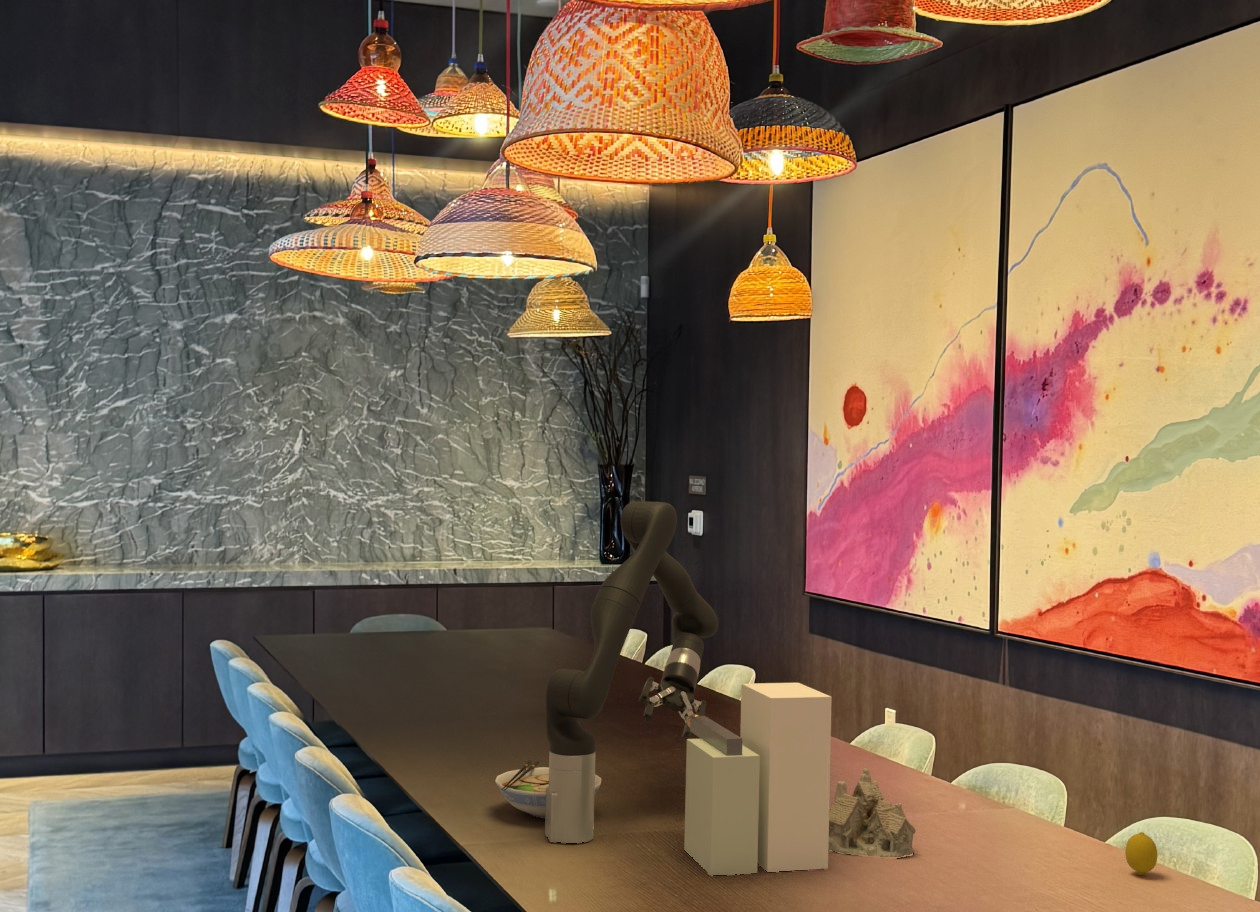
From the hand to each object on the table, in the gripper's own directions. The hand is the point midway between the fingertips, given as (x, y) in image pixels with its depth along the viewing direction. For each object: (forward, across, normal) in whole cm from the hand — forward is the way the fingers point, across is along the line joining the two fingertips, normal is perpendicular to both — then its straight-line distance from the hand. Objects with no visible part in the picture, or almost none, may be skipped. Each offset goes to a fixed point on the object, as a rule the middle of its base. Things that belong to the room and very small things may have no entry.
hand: (666, 727), depth 260 cm
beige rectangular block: (+30, +16, -4) cm, 34 cm away
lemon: (+15, +88, -31) cm, 95 cm away
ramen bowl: (+13, -15, +25) cm, 32 cm away
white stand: (+25, +27, -6) cm, 37 cm away
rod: (+14, +7, -17) cm, 23 cm away
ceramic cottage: (+15, +44, -7) cm, 47 cm away
